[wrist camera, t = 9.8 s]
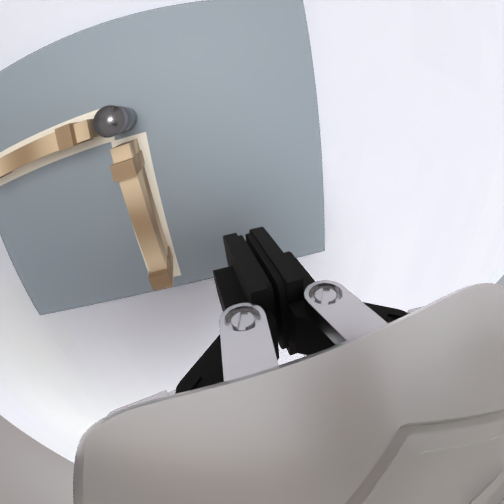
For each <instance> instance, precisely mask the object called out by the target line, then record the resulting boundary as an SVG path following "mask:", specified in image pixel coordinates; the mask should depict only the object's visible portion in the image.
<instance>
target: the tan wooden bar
mask: <svg viewBox="0 0 504 504" xmlns="http://www.w3.org/2000/svg"><path fill="white" fill-rule="evenodd" d="M110 151H111V155H112V159H113V164H112V165H111V166H110V169H111V173H112V176H113V180H114V183H115V182H118V181H119V183H120V187H121V190H122V193H123V197H124V200H125V203H126V206H127V209H128V212H129V215H130V218H131V221H132V224H133V227H134V230H135V233H136V236H137V239H138V241H139V244H140V247H141V250H142V252H143V255H144V258H145V260H146V263H147V266H148V268H149V277H148V279H149V282H150V284H151V287H152V289H153V291H154V290H161V289H165V288H169V287H173V256H172V253H171V250H170V247H169V246H168V245H167V242H166V239H165V236H164V232H163V229H162V226H161V223H160V220H159V216H158V213H157V210H156V206H155V203H154V199H153V196H152V192H151V189H150V185H149V182H148V178H147V174H146V171H145V167H144V164H145V161H144V157H143V153H142V150H140V147H139V143H138V139H133V140H130V141H127V142H124V143H121V144H119V145H117V146H116V147H114V148H112V149H110Z"/></svg>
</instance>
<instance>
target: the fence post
mask: <svg viewBox="0 0 504 504" xmlns="http://www.w3.org/2000/svg"><path fill="white" fill-rule="evenodd" d="M136 123H137V114H136V112H135V110H134V109H132V108H130V107H125V106H114V105H107V106H104V107H102V108H101V109H99V110H98V111H97V113H96V114H95V116H94V119H93V127H94V130H95V132H96V133H97V134H98V135H99V136H101V137H104V138H110V137H113V136H116V135H118V134H121V133H124V132H127V131H129V130H131V129H132V128H133V127H134V126H135V125H136Z"/></svg>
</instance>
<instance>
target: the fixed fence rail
mask: <svg viewBox="0 0 504 504" xmlns="http://www.w3.org/2000/svg"><path fill="white" fill-rule="evenodd" d="M54 130H55V132H53V133H51V134H48V135H46V136H44V137H42V138H39V139H37V140H35V141H33V142H31V143H29V144H27V145H25V146H22V147H20V148H18V149H16V150H15V151H13V152H11V153H9V154H7V155H5V156H3V157H1V158H0V178H2V177H4V176H6V175H8V174H10V173H12V171H13V170H15V169H17V168H19V167H21V166H24V165H26V164H28V163H30V162H32V161H35V160H37V159H39V158H41V157H44V156H46V155H48V154H51V153H53V152H56V151H58V150H59V152H60V151H62V150H65V149H68V148H70V147H73V146H75V145H78V144H81V143H84V142H86V141H89V140H92V139H93V138H94V137H97V136H99V135H98V134H97V133H96V132H95V130H94V127H93V119H86V120H84V121H81V122H75V123H69V124H66V125H64V126H61V127H59V128H56V129H54Z"/></svg>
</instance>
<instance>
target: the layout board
mask: <svg viewBox="0 0 504 504" xmlns="http://www.w3.org/2000/svg"><path fill="white" fill-rule="evenodd" d="M107 105H114V106H125V107H130V108H132V109H134V110H135V112H136V114H137V123H136V125H135V126H134V127H133V128H132V129H131V130H129V131H127V132H124V133H121V134H118V135H116V136H113V137H110V138H104V137H101V136H97V137H94V138H93V139H92V140H89V141H86V142H84V143H81V144H78V145H75V146H73V147H70V148H68V149H65V150H62V151H60V152H59V150H58V151H56V152H53V153H51V154H48V155H46V156H44V157H41V158H39V159H37V160H35V161H32V162H30V163H28V164H26V165H24V166H21V167H19V168H17V169H15V170H13V171H12V173H10V174H8V175H6V176H4V177H2V178H0V235H1V237H2V240H3V242H4V245H5V247H6V250H7V252H8V254H9V256H10V259H11V261H12V263H13V265H14V267H15V269H16V272H17V274H18V276H19V278H20V280H21V282H22V284H23V286H24V288H25V289H26V291H27V293H28V295H29V297H30V299H31V301H32V302H33V304H34V306H35V308H36V309H37V311H38V313H39V315H44V314H49V313H54V312H59V311H64V310H69V309H73V308H78V307H83V306H88V305H92V304H97V303H102V302H106V301H111V300H116V299H120V298H125V297H129V296H134V295H139V294H143V293H148V292H152V291H153V289H152V287H151V284H150V282H149V279H148V277H149V268H148V266H147V263H146V260H145V258H144V255H143V252H142V250H141V247H140V244H139V241H138V239H137V236H136V233H135V230H134V227H133V224H132V221H131V218H130V215H129V212H128V209H127V206H126V203H125V200H124V197H123V193H122V190H121V187H120V183H119V181H118V182H115V183H114V180H113V176H112V173H111V169H110V166H111V165H112V164H113V159H112V155H111V151H110V149H112V148H114V147H116V146H117V145H119V144H121V143H124V142H127V141H130V140H133V139H138V143H139V147H140V150H142V153H143V157H144V161H145V164H144V167H145V171H146V174H147V178H148V182H149V185H150V189H151V192H152V196H153V199H154V203H155V206H156V210H157V213H158V216H159V220H160V223H161V226H162V229H163V232H164V236H165V239H166V242H167V245H168V246H169V247H170V250H171V253H172V256H173V287H174V286H179V285H183V284H188V283H192V282H196V281H201V280H205V279H209V278H214V275H213V270H216V269H221V268H225V267H228V263H227V258H226V252H225V247H224V242H223V236H224V235H228V234H232V233H237V235H238V236H239V235H242V236H243V237H244V239H245V241H246V237H245V235H246V234H248V233H249V230H250V229H254V228H258V227H264V228H265V229H266V231H267V232H268V233H269V235H270V236H271V237H272V238H273V240H274V241H275V242H276V243H277V245H278V246H279V247H280V249H281V250H282V251H283V252H288V251H290V252H291V253H292V254H293V255H294V256H295V258H298V257H302V256H306V255H310V254H314V253H318V252H322V251H325V242H324V195H323V172H322V154H321V139H320V127H319V115H318V104H317V95H316V85H315V77H314V69H313V61H312V54H311V47H310V40H309V33H308V27H307V21H306V15H305V10H304V4H303V0H207V1H198V2H191V3H184V4H178V5H172V6H167V7H162V8H157V9H152V10H148V11H143V12H139V13H135V14H132V15H128V16H124V17H121V18H117V19H114V20H111V21H108V22H105V23H102V24H99V25H96V26H93V27H90V28H87V29H85V30H82V31H80V32H77V33H74V34H72V35H70V36H67V37H65V38H63V39H60V40H58V41H56V42H54V43H51V44H49V45H47V46H45V47H43V48H41V49H39V50H37V51H35V52H33V53H31V54H29V55H28V56H26V57H24V58H22V59H20V60H19V61H17V62H15V63H13V64H12V65H10V66H8V67H7V68H5V69H3V70H2V71H0V158H1V157H3V156H5V155H7V154H9V153H11V152H13V151H15V150H16V149H18V148H20V147H22V146H25V145H27V144H29V143H31V142H33V141H35V140H37V139H39V138H42V137H44V136H46V135H48V134H51V133H53V132H55V130H54V129H56V128H59V127H61V126H64V125H66V124H69V123H75V122H81V121H84V120H86V119H94V116H95V114H96V113H97V111H98V110H99V109H101V108H102V107H104V106H107ZM169 288H170V287H169ZM165 289H166V288H165ZM154 291H157V290H154Z"/></svg>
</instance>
